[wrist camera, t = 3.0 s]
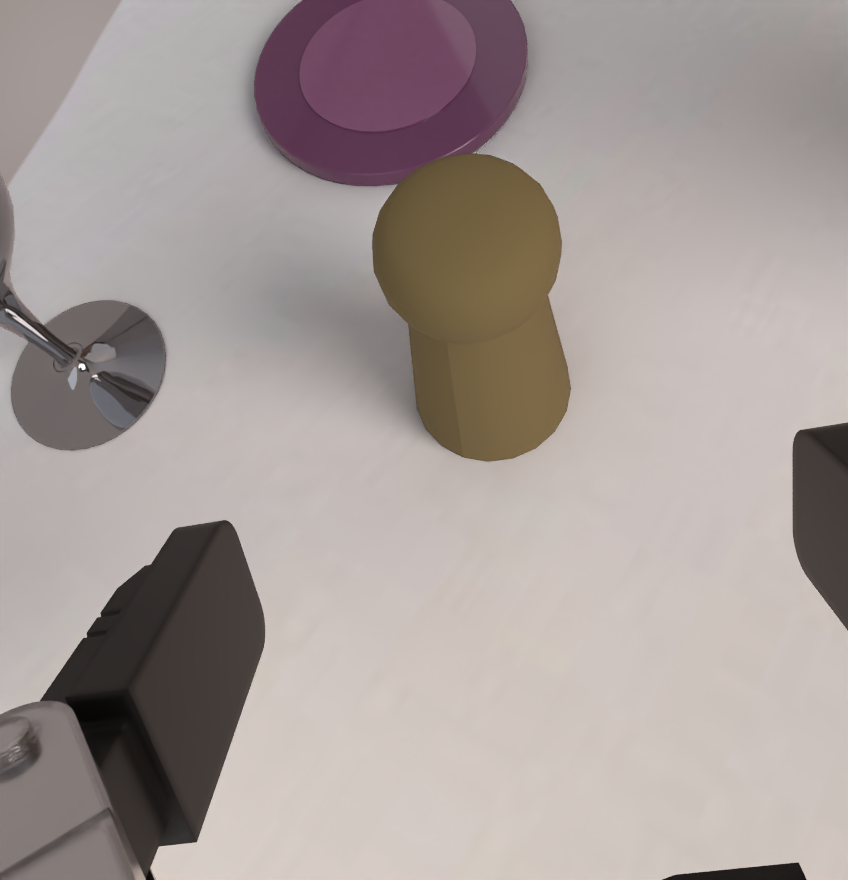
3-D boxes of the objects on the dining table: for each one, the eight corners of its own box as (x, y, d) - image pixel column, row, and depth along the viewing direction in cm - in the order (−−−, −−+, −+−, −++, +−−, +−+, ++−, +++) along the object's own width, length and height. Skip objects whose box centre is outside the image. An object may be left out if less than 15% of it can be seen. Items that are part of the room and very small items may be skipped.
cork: (480, 293, 31) (444, 82, 21) (602, 372, 29) (629, 181, 19) (384, 402, 30) (297, 236, 20) (504, 492, 28) (475, 358, 18)
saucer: (454, -63, 39) (452, -80, 38) (579, 105, 34) (579, 89, 33) (225, 47, 38) (217, 32, 38) (315, 232, 33) (309, 219, 33)
